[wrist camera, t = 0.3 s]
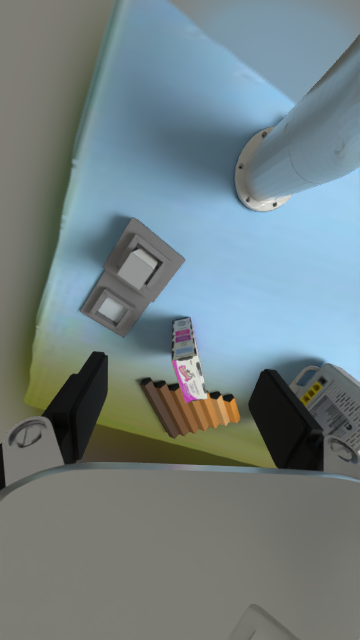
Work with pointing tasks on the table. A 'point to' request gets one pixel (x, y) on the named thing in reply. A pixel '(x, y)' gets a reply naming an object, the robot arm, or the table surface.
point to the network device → (332, 401)
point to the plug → (137, 268)
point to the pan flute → (189, 409)
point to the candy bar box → (187, 361)
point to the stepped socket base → (119, 295)
